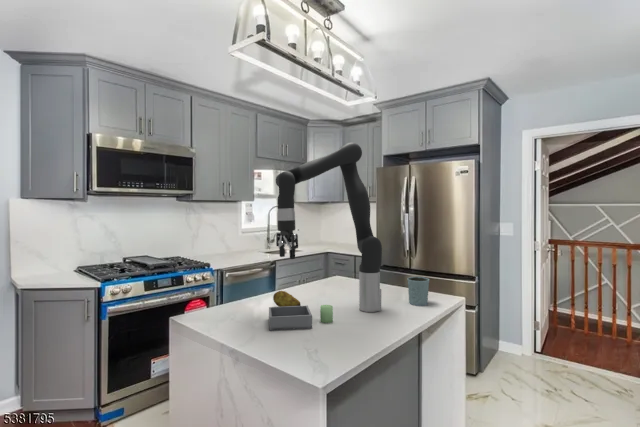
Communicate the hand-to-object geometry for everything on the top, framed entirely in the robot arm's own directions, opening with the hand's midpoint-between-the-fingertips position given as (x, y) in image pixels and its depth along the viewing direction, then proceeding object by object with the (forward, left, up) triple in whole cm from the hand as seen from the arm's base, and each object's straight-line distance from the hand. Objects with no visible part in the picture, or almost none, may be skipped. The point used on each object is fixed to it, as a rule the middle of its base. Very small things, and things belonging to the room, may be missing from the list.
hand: (287, 257), depth 152 cm
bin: (0, +10, -25) cm, 27 cm away
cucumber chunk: (-15, +9, -25) cm, 31 cm away
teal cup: (-63, -10, -25) cm, 69 cm away
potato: (0, -10, -25) cm, 27 cm away
